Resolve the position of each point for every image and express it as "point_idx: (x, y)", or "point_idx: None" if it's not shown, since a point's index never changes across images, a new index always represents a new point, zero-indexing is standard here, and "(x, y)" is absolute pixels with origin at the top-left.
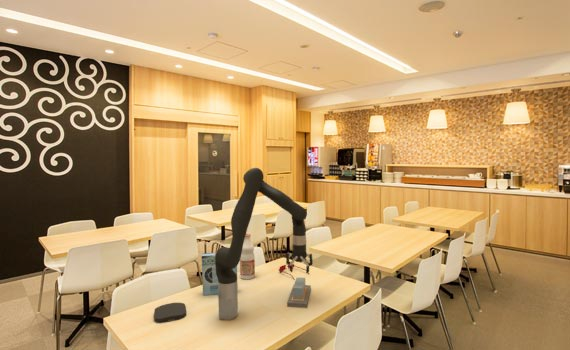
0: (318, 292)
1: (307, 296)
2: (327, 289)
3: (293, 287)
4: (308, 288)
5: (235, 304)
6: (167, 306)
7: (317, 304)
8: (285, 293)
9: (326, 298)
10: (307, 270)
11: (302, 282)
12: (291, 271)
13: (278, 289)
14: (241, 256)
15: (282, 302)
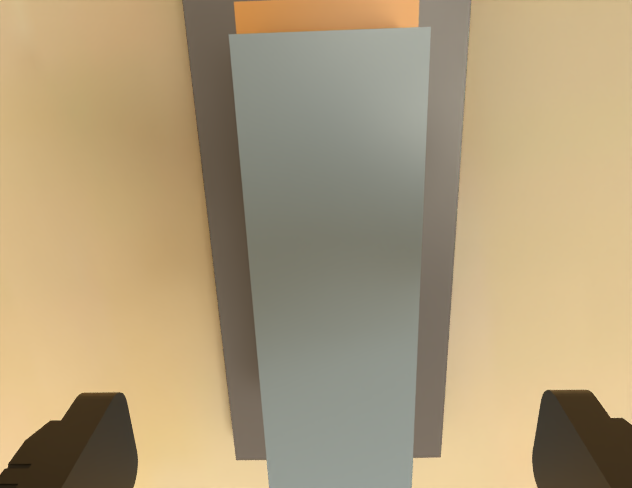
0: (137, 361)
1: (208, 153)
2: None
3: (420, 49)
4: (244, 381)
5: None
6: None
7: (65, 39)
8: (517, 283)
9: (7, 228)
10: (50, 444)
11: (280, 312)
12: (575, 397)
13: (608, 370)
14: None
15: (541, 15)
